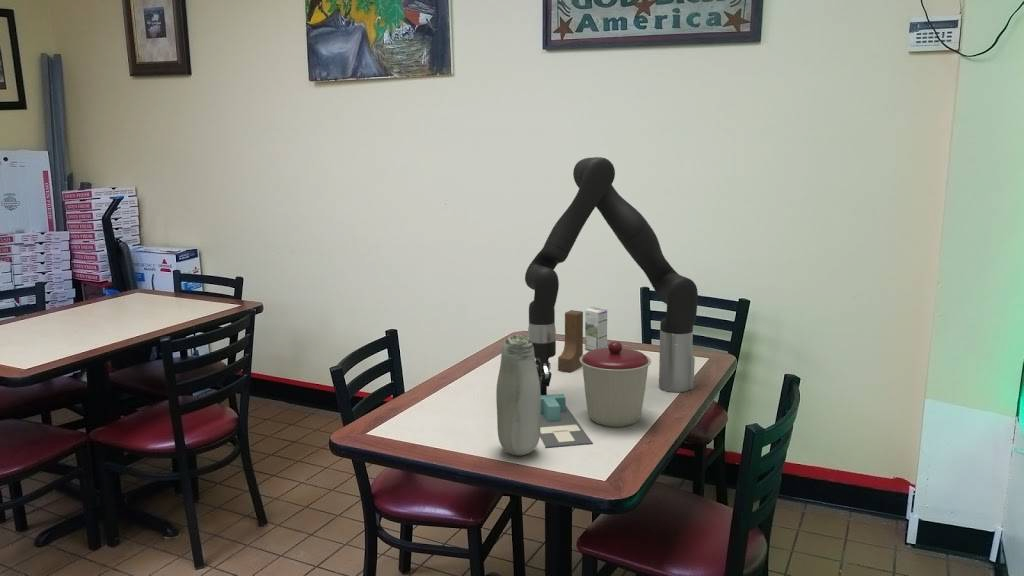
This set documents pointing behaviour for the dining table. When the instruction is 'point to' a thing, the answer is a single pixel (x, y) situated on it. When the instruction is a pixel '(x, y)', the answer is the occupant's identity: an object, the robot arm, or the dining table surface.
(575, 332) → the wooden block
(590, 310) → the syrup box
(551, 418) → the t block
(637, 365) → the canister
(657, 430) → the dining table surface
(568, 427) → the mat
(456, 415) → the dining table surface
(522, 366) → the glass bottle
